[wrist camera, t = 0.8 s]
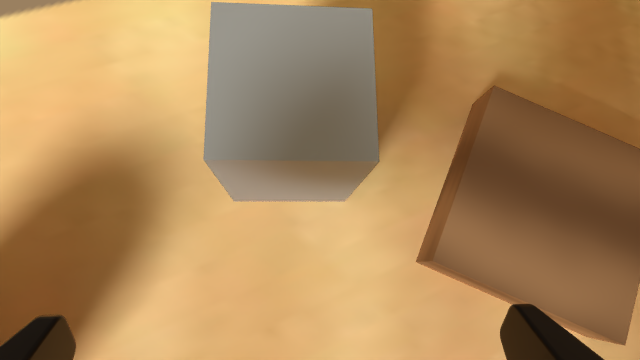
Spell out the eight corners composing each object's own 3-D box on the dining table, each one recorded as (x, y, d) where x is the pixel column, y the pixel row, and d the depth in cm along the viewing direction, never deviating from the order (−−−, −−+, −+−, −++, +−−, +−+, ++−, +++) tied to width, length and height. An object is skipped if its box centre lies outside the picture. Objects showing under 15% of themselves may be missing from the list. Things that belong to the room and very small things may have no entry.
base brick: (580, 335, 23) (625, 345, 20) (413, 262, 23) (432, 261, 20) (622, 173, 25) (667, 160, 22) (469, 107, 25) (494, 85, 22)
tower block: (344, 201, 23) (379, 161, 14) (233, 201, 22) (203, 159, 14) (341, 99, 24) (372, 8, 16) (237, 97, 23) (211, 2, 15)
